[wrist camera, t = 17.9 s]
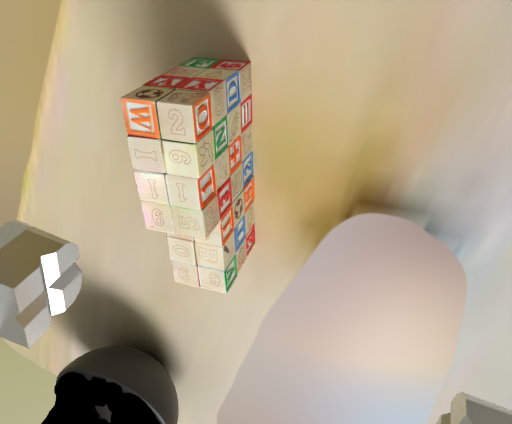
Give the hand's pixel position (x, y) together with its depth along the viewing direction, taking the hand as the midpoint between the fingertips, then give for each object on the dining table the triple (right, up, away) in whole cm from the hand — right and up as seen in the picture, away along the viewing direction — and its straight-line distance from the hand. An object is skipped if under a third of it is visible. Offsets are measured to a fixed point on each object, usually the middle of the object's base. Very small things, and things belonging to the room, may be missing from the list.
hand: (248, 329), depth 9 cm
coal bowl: (-18, -23, +68) cm, 74 cm away
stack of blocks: (-3, +8, +40) cm, 41 cm away
